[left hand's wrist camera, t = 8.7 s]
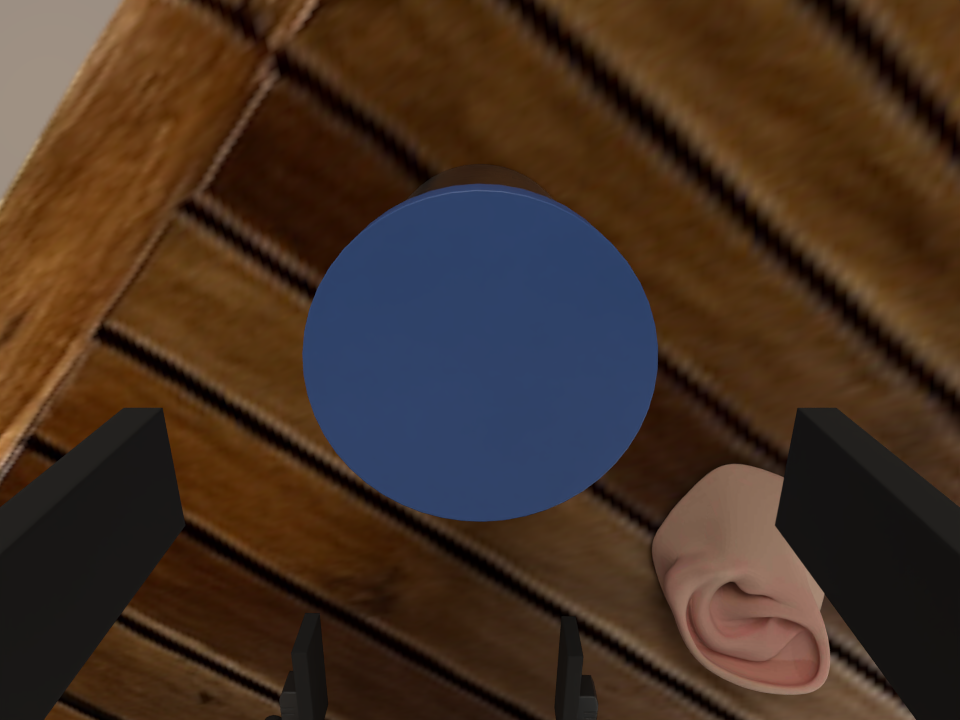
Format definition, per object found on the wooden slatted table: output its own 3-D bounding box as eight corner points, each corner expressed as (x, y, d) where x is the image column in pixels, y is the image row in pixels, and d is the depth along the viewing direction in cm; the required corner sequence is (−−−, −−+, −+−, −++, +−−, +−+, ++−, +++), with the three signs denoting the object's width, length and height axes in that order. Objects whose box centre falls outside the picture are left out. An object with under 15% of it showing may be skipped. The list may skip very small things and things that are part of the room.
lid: (265, 239, 18) (244, 251, 17) (605, 138, 17) (618, 140, 16) (379, 521, 22) (371, 554, 20) (669, 450, 21) (685, 477, 19)
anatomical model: (700, 493, 32) (917, 521, 33) (677, 454, 36) (872, 480, 36) (638, 688, 37) (829, 710, 37) (624, 636, 40) (797, 657, 41)
